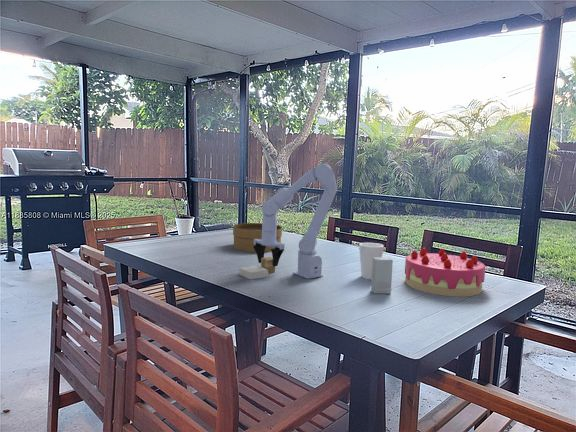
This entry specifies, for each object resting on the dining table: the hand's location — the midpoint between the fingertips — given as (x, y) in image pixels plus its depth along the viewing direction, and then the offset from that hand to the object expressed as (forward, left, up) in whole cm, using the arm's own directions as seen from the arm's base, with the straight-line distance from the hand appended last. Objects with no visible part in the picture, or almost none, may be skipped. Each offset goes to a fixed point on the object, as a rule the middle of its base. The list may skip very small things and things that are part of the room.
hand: (267, 264), depth 168 cm
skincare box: (-42, -19, -3) cm, 46 cm away
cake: (-48, -47, -4) cm, 67 cm away
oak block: (0, 0, -3) cm, 3 cm away
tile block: (-2, +8, -4) cm, 9 cm away
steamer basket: (+44, -23, -3) cm, 50 cm away
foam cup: (-26, -31, -3) cm, 41 cm away
